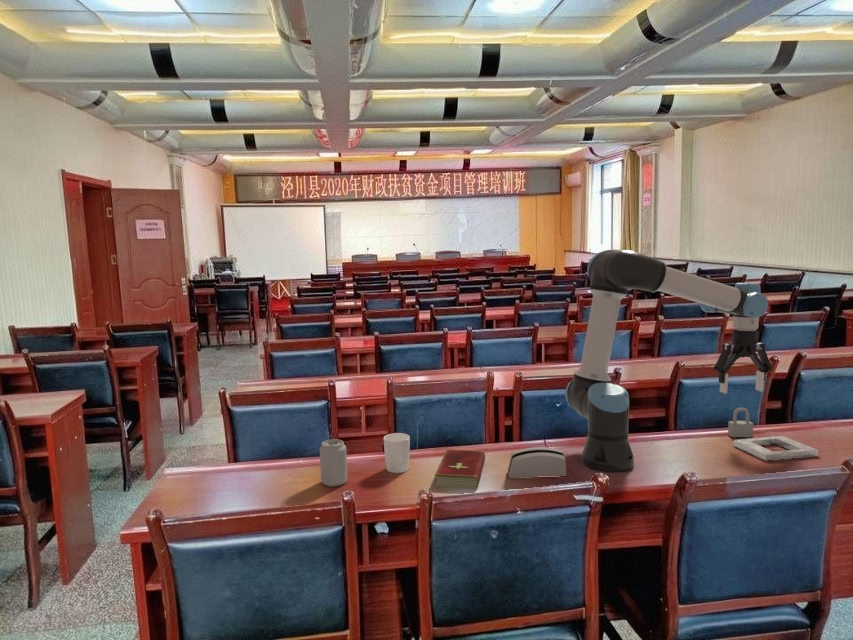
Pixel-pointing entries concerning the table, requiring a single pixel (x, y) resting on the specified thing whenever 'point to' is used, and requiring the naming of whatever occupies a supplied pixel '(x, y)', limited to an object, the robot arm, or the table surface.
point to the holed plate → (794, 451)
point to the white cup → (397, 452)
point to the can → (333, 463)
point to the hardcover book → (460, 468)
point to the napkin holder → (537, 463)
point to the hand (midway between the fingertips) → (741, 391)
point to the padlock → (740, 425)
